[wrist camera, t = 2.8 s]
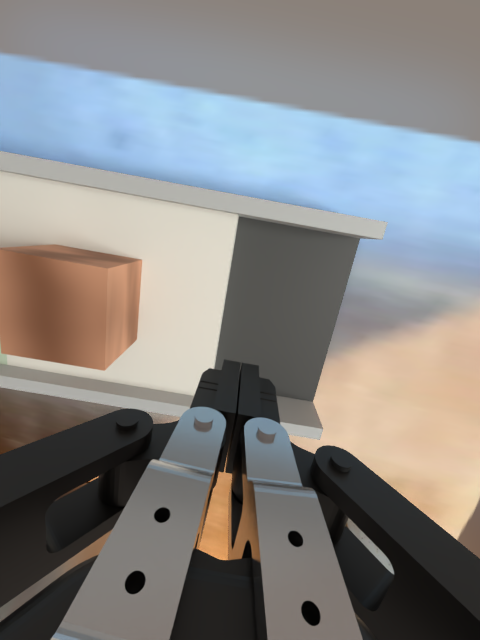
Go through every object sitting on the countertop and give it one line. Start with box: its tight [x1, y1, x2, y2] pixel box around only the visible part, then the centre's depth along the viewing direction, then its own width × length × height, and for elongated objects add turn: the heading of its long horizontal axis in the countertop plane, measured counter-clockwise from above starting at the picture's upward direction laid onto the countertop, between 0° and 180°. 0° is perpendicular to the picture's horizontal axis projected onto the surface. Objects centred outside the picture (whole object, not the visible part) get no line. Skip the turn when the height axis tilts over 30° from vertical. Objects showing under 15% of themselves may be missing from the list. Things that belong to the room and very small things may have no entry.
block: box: [0, 244, 142, 371], centre depth 18 cm, size 6×6×5 cm
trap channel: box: [0, 151, 388, 440], centre depth 21 cm, size 44×16×4 cm, turn 80°
